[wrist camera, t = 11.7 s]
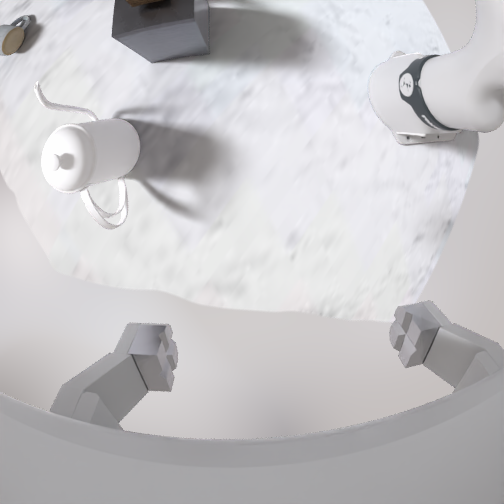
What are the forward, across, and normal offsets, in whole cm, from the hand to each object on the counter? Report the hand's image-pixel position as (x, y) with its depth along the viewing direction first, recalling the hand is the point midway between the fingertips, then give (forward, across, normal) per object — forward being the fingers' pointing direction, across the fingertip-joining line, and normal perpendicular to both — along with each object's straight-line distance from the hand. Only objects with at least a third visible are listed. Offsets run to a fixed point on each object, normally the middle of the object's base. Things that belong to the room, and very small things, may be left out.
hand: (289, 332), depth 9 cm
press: (+39, +11, -28) cm, 49 cm away
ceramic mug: (+40, +51, -42) cm, 77 cm away
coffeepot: (+39, +24, -7) cm, 47 cm away
